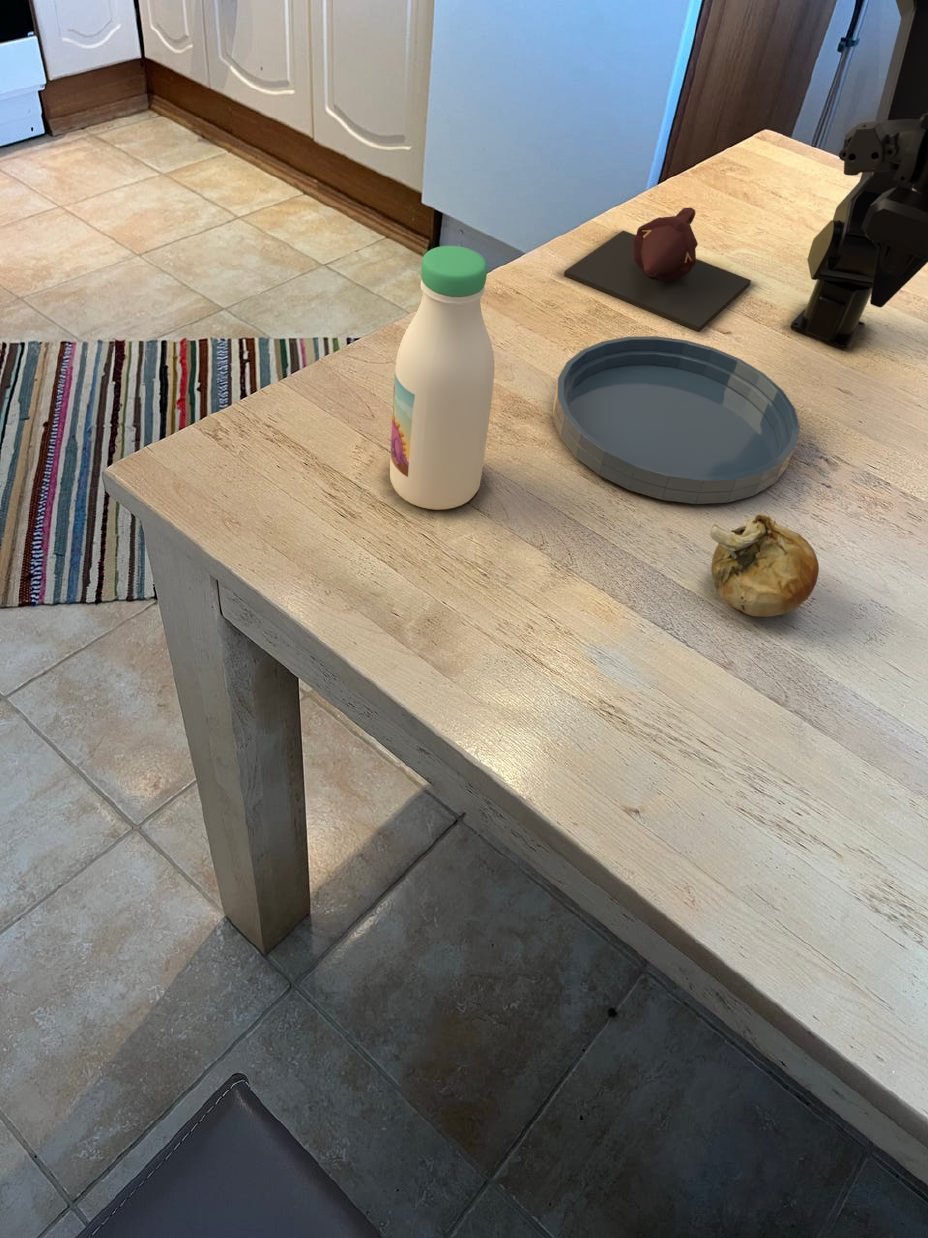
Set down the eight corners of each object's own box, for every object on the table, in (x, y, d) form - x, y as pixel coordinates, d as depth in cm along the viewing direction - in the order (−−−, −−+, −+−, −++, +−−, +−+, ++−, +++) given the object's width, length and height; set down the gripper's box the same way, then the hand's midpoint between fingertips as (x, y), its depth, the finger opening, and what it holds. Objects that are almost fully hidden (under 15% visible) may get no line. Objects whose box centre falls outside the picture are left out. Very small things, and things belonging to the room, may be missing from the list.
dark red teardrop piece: (694, 260, 97) (725, 218, 108) (633, 222, 98) (669, 184, 108) (660, 316, 102) (693, 271, 113) (602, 281, 103) (640, 238, 113)
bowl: (622, 337, 99) (628, 311, 97) (821, 424, 92) (833, 397, 90) (507, 434, 86) (511, 406, 84) (728, 543, 79) (739, 516, 76)
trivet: (622, 234, 115) (623, 229, 115) (749, 284, 110) (751, 279, 109) (563, 275, 107) (564, 270, 107) (698, 332, 101) (700, 326, 101)
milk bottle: (491, 469, 82) (523, 248, 68) (462, 523, 77) (490, 297, 63) (408, 444, 84) (423, 223, 69) (375, 496, 79) (382, 269, 64)
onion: (757, 651, 71) (795, 576, 65) (679, 587, 75) (707, 510, 69) (818, 609, 74) (858, 534, 68) (740, 550, 78) (772, 474, 72)
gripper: (911, 49, 83) (842, 223, 95) (839, 102, 72) (771, 292, 84) (1039, 86, 80) (952, 262, 91) (985, 148, 69) (893, 339, 80)
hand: (891, 286), depth 87 cm, fingers open, 9 cm apart
